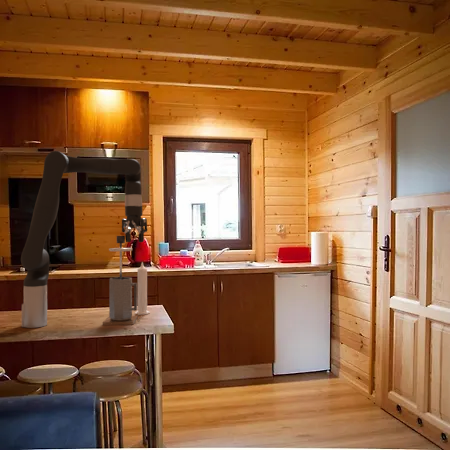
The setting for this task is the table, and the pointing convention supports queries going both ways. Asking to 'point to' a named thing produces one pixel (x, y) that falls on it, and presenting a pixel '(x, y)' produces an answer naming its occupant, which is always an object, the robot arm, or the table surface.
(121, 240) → the plunger
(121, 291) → the press
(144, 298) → the candle
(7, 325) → the table surface
